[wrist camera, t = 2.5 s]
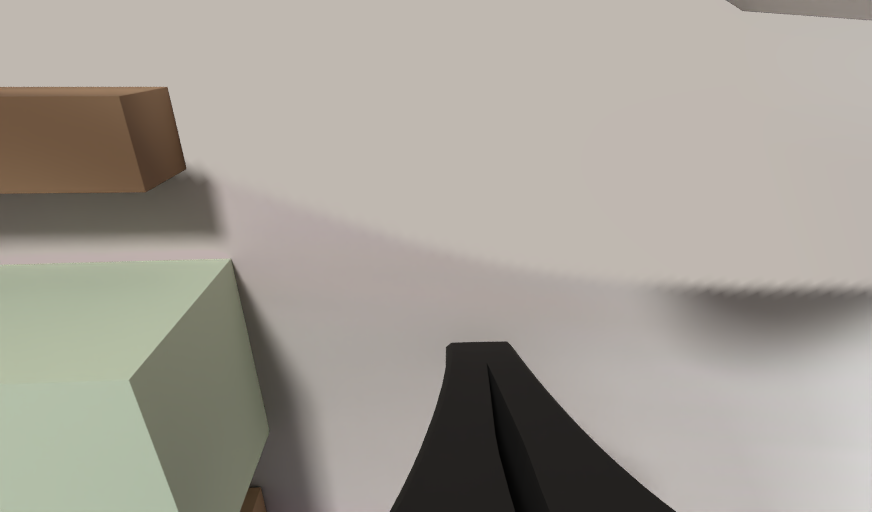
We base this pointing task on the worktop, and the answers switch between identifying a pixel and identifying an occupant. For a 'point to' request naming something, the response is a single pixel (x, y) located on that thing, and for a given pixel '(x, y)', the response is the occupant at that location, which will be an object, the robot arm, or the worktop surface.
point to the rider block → (126, 388)
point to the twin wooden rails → (91, 148)
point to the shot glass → (810, 7)
